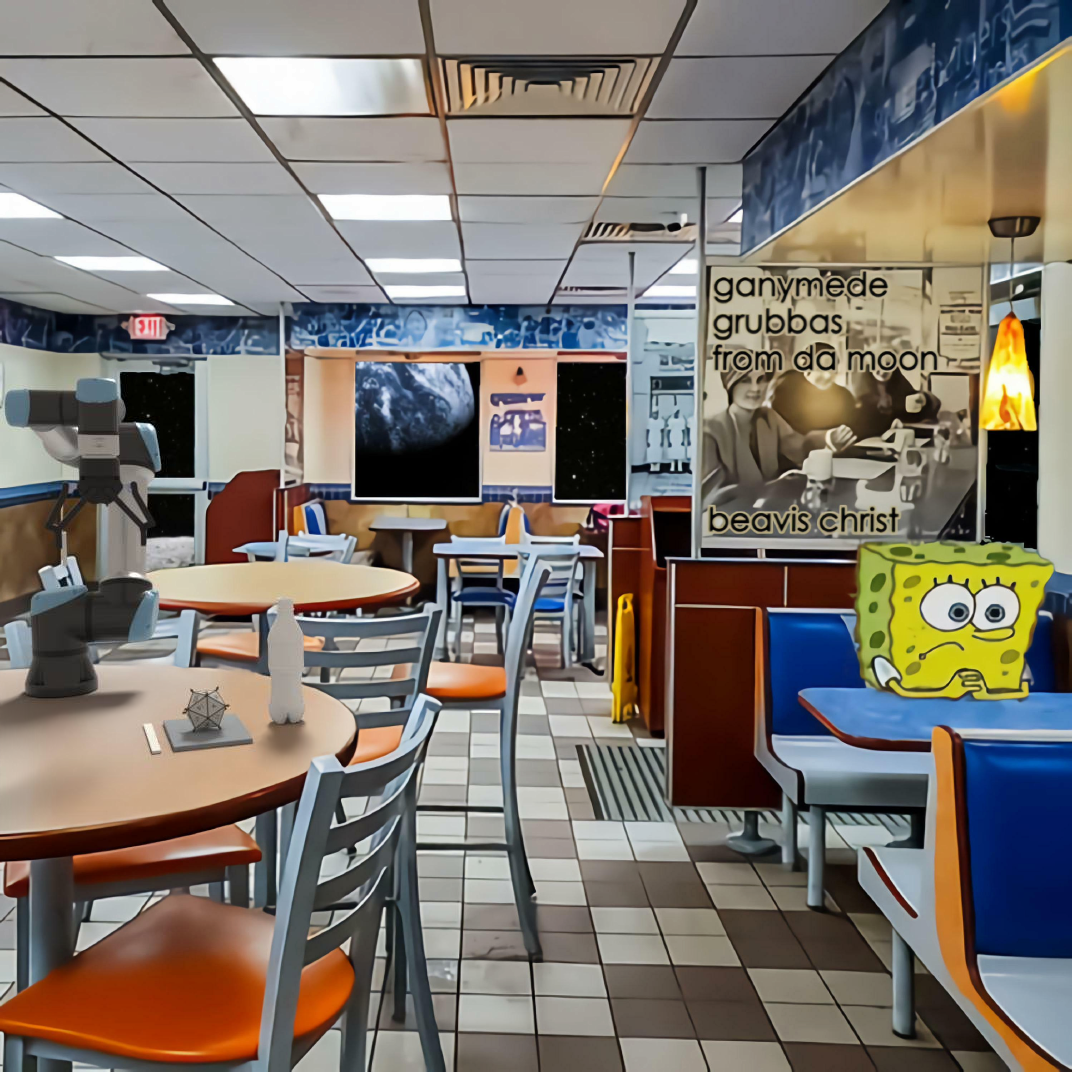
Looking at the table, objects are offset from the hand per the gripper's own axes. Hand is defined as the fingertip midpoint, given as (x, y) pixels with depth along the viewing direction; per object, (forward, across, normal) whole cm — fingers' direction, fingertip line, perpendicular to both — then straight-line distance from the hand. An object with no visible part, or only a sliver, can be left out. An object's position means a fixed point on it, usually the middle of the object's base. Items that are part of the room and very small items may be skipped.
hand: (102, 564), depth 210 cm
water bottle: (+32, +33, -15) cm, 48 cm away
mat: (+32, +17, -18) cm, 40 cm away
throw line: (+32, +7, -18) cm, 37 cm away
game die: (+31, +17, -18) cm, 40 cm away
